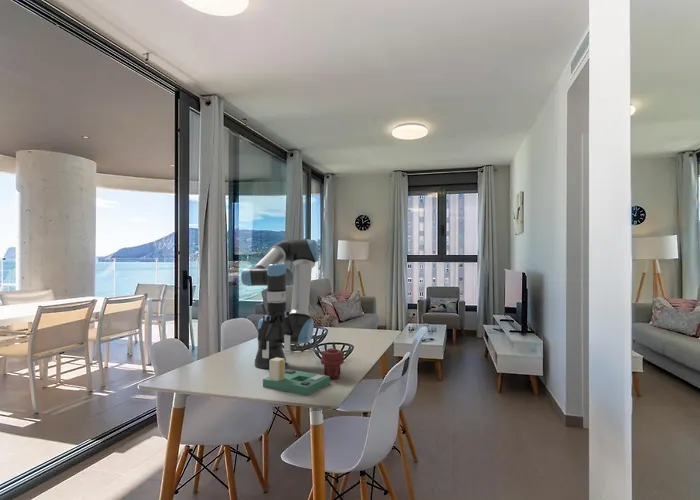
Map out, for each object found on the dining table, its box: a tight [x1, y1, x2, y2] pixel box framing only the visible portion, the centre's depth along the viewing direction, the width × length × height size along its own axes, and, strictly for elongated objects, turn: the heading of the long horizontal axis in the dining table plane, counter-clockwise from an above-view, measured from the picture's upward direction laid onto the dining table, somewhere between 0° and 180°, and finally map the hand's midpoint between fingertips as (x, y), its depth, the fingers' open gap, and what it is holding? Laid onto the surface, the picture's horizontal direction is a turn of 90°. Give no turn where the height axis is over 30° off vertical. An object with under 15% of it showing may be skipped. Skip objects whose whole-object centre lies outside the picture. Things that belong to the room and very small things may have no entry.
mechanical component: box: [320, 347, 345, 380], centre depth 172 cm, size 12×10×10 cm
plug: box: [268, 357, 286, 381], centre depth 162 cm, size 5×4×8 cm
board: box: [262, 368, 331, 396], centre depth 163 cm, size 22×16×4 cm
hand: (276, 354), depth 161 cm, fingers open, 13 cm apart
